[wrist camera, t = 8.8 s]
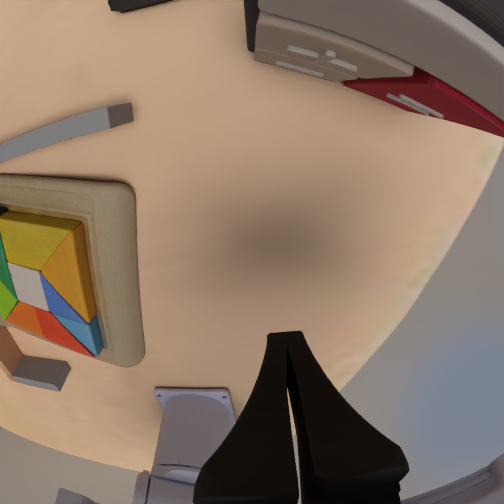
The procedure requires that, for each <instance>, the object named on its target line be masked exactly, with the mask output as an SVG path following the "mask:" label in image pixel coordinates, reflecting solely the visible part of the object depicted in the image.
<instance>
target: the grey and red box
mask: <svg viewBox="0 0 504 504" xmlns="http://www.w3.org/2000/svg"><path fill="white" fill-rule="evenodd" d="M244 9H245V21H246V34H247V46H248V50H249V51H251V52H254V60H255V61H259V62H263V63H267V64H271V65H275V66H280V67H284V68H287V69H291V70H295V71H299V72H302V73H306V74H309V75H312V76H316V77H319V78H322V79H325V80H329V81H344V84H343V85H344V86H347V87H349V88H352V89H355V90H357V91H360V92H363V93H365V94H368V95H371V96H373V97H376V98H378V99H381V100H383V101H385V102H388V103H390V104H393V105H395V106H397V107H399V108H402V109H404V110H406V111H409V112H413V113H418V114H423V115H427V116H431V117H436V118H440V119H444V120H448V121H451V122H455V123H459V124H462V125H466V126H469V127H473V128H476V129H479V130H482V131H486V132H489V133H492V134H495V135H498V136H501V137H503V138H504V0H244Z"/></svg>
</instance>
